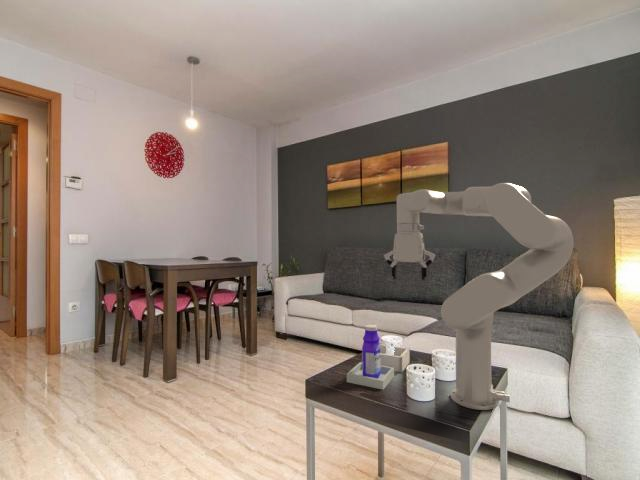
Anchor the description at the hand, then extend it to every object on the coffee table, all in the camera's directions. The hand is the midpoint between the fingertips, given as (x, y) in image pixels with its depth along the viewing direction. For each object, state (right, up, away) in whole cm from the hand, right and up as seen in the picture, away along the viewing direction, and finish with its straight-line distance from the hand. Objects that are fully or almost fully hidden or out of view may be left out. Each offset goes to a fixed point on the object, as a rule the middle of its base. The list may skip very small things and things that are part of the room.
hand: (409, 279), depth 116 cm
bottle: (-13, -34, -1) cm, 36 cm away
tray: (-13, -34, -1) cm, 37 cm away
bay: (-4, -34, +12) cm, 37 cm away
